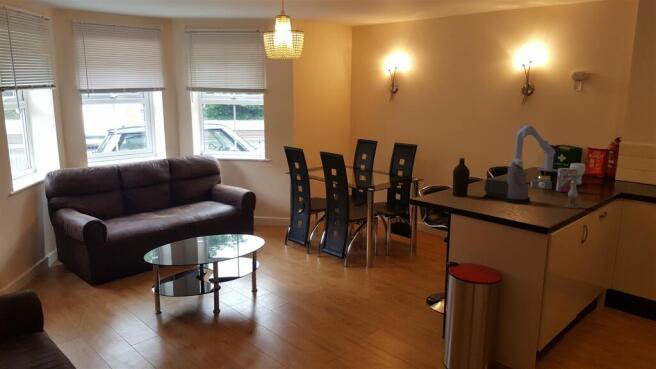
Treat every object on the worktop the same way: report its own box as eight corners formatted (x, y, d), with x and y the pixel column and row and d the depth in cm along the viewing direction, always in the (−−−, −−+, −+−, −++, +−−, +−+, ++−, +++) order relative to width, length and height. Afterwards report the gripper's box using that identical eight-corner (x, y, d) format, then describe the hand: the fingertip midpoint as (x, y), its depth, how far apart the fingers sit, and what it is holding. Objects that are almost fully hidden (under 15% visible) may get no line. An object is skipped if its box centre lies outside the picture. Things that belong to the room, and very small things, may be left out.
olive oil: (458, 197, 329) (461, 159, 324) (448, 194, 338) (450, 157, 334) (471, 196, 334) (474, 158, 329) (460, 193, 343) (463, 156, 338)
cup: (586, 184, 382) (588, 165, 379) (571, 184, 382) (574, 164, 379) (579, 182, 392) (581, 163, 390) (565, 182, 393) (567, 162, 390)
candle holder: (574, 205, 311) (578, 173, 308) (582, 208, 303) (586, 175, 299) (560, 205, 311) (564, 172, 307) (568, 208, 303) (571, 175, 299)
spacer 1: (537, 183, 369) (538, 176, 368) (537, 182, 374) (538, 175, 373) (544, 183, 367) (545, 176, 366) (544, 182, 372) (545, 175, 371)
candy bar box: (558, 192, 353) (560, 168, 349) (555, 190, 357) (558, 167, 354) (574, 192, 351) (577, 169, 348) (572, 191, 356) (574, 168, 353)
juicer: (534, 201, 322) (537, 163, 318) (528, 205, 309) (532, 166, 305) (487, 195, 339) (490, 159, 334) (479, 199, 326) (482, 161, 321)
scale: (531, 188, 366) (532, 181, 365) (530, 183, 382) (530, 177, 381) (551, 189, 362) (552, 182, 361) (548, 185, 378) (549, 178, 377)
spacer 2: (543, 183, 386) (544, 176, 385) (543, 182, 391) (543, 175, 390) (550, 183, 385) (551, 177, 384) (550, 182, 390) (550, 176, 389)
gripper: (558, 163, 387) (556, 180, 389) (538, 162, 391) (536, 179, 394) (559, 164, 380) (557, 182, 383) (538, 163, 385) (537, 180, 387)
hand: (547, 180), depth 388 cm, fingers closed on spacer 2, 5 cm apart
